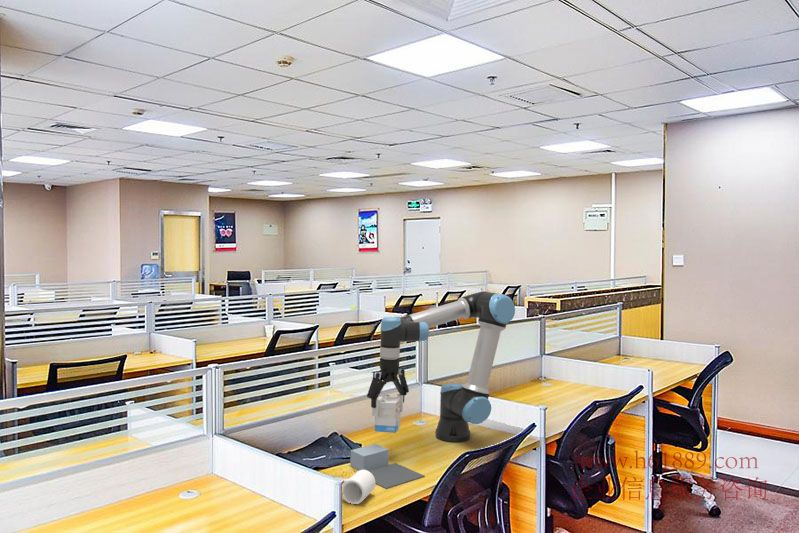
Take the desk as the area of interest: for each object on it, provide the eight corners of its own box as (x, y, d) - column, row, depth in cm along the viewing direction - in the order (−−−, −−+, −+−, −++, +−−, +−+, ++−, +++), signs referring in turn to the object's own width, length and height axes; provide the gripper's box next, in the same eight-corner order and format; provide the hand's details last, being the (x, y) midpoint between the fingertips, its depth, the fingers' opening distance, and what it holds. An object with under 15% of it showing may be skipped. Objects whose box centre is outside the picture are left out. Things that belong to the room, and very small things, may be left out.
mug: (375, 494, 207) (376, 471, 207) (364, 506, 198) (364, 482, 197) (342, 489, 211) (342, 466, 211) (329, 500, 202) (330, 476, 201)
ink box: (395, 433, 236) (396, 398, 235) (374, 431, 237) (374, 397, 237) (400, 426, 244) (401, 392, 243) (380, 424, 246) (380, 391, 245)
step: (375, 459, 240) (375, 443, 240) (388, 465, 234) (389, 449, 234) (350, 466, 232) (350, 450, 232) (363, 472, 226) (363, 456, 226)
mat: (395, 463, 236) (395, 462, 236) (424, 476, 224) (424, 475, 224) (357, 474, 224) (357, 473, 224) (386, 489, 212) (386, 487, 212)
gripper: (406, 353, 250) (404, 406, 251) (358, 358, 235) (356, 416, 235) (419, 356, 244) (417, 411, 245) (370, 362, 229) (368, 420, 230)
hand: (387, 413), depth 240 cm, fingers closed on ink box, 12 cm apart
